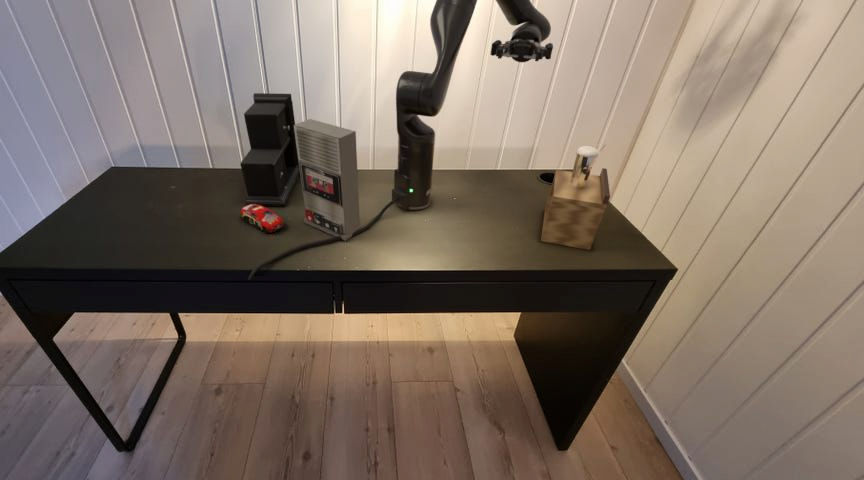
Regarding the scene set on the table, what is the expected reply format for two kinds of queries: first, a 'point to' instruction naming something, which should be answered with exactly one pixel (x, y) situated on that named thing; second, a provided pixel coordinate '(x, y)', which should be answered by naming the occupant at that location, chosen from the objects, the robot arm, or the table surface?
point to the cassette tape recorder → (329, 177)
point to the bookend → (270, 150)
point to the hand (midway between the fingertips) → (518, 55)
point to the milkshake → (583, 165)
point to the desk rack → (575, 210)
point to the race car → (262, 218)
